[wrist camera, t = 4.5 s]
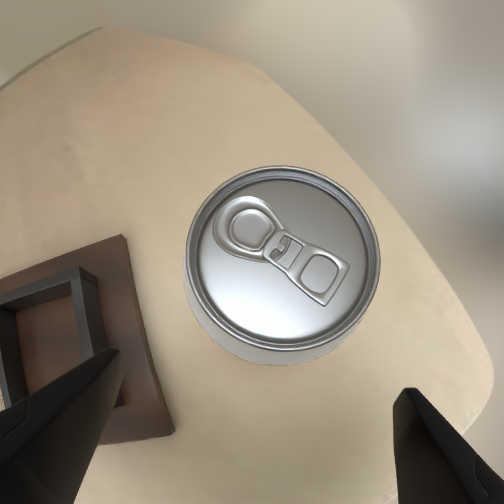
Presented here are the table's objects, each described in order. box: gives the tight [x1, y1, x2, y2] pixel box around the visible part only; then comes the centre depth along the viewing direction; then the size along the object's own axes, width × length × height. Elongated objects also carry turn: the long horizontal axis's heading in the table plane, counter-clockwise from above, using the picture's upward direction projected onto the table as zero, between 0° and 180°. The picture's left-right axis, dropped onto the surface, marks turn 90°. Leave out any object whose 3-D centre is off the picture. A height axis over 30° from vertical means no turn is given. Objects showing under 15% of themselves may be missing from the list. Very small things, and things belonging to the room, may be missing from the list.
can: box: [183, 165, 381, 366], centre depth 14 cm, size 6×6×12 cm
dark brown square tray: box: [0, 234, 175, 445], centre depth 17 cm, size 14×14×4 cm
